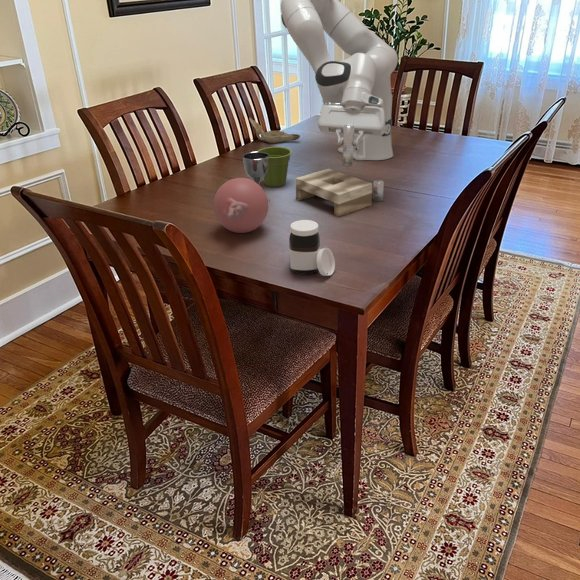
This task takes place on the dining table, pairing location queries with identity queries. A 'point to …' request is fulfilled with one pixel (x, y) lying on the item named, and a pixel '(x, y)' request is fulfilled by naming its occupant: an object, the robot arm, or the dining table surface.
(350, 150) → the grey peg
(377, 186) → the short pin
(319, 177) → the board
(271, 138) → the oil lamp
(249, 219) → the balloon
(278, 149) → the plant pot
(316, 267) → the spread jar
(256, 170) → the wine glass
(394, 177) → the dining table surface
